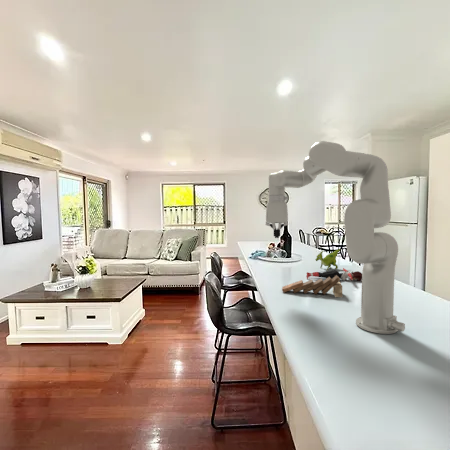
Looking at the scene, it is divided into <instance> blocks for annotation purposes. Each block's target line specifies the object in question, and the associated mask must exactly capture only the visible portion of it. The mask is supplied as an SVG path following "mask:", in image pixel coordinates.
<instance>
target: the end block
mask: <svg viewBox="0 0 450 450" xmlns="http://www.w3.org/2000/svg"><path fill="white" fill-rule="evenodd" d="M332 293H333V295H334V297H335V298H343V285H342V283H341V282H340V281H339V282H338V283H337V284H335V285H334V286H333V287H332Z"/></svg>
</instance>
